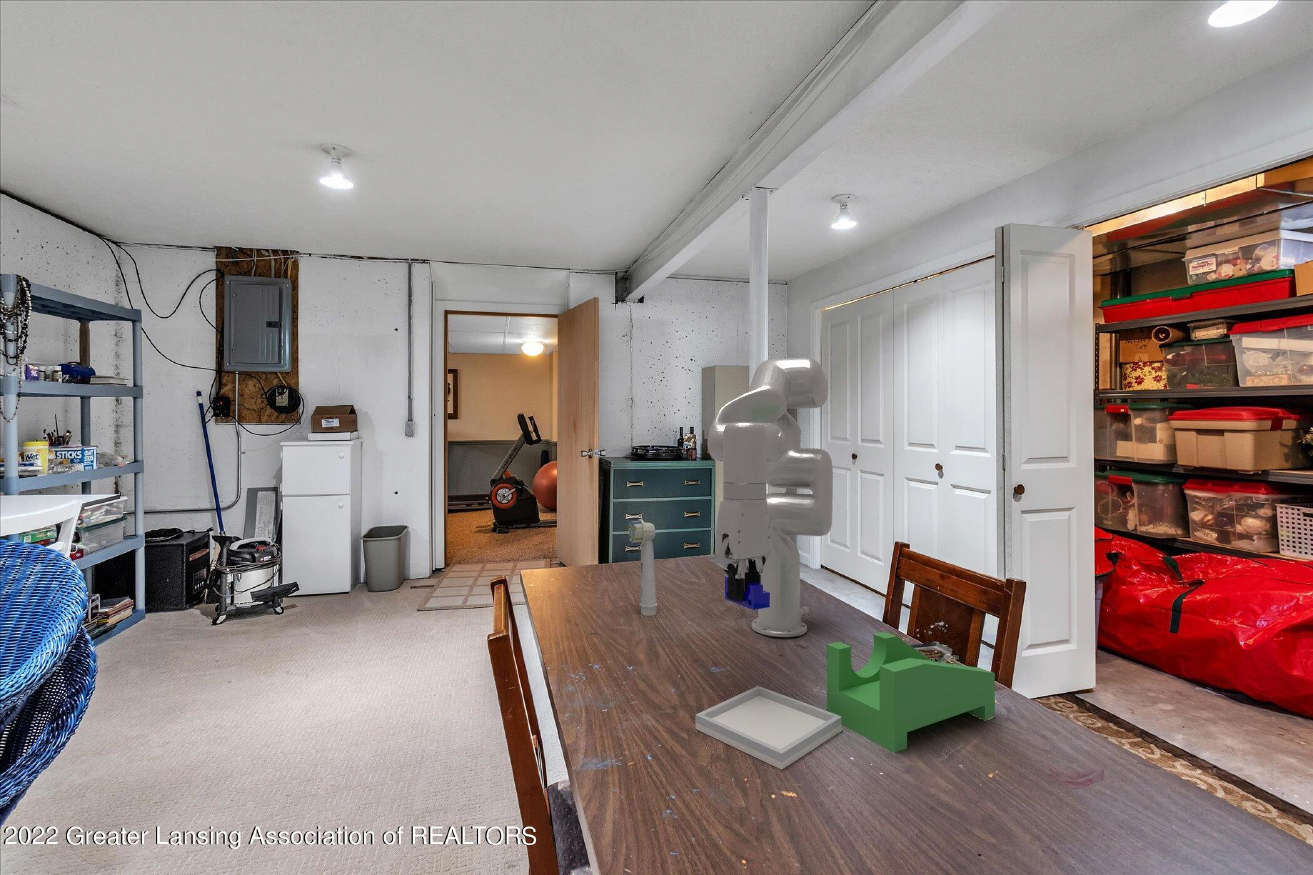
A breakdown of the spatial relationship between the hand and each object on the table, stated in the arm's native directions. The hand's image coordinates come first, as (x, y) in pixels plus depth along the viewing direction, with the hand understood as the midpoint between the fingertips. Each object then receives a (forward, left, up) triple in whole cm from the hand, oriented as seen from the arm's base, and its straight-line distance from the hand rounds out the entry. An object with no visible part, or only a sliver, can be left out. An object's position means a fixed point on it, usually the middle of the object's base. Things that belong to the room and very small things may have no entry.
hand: (744, 597), depth 105 cm
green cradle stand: (-15, +23, -18) cm, 33 cm away
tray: (+6, +10, -18) cm, 21 cm away
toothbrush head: (-19, -46, -18) cm, 53 cm away
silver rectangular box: (-36, +15, -18) cm, 43 cm away
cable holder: (0, 0, -1) cm, 1 cm away
